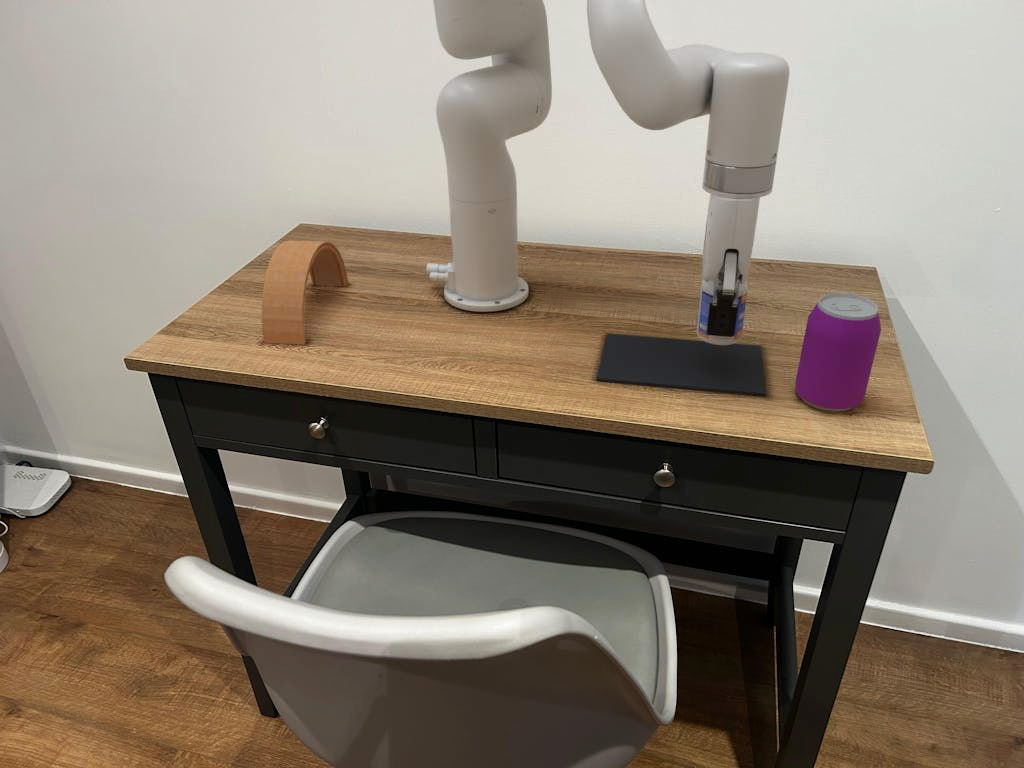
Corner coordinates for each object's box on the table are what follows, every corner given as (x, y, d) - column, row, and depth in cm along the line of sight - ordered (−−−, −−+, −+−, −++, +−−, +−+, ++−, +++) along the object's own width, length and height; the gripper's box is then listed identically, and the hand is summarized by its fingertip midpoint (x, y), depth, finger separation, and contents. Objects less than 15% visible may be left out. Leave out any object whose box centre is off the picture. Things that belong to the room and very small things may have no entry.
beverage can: (855, 383, 97) (877, 291, 91) (868, 417, 90) (893, 322, 84) (789, 378, 98) (806, 288, 92) (798, 412, 91) (817, 318, 85)
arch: (349, 283, 124) (341, 221, 119) (304, 344, 107) (292, 275, 102) (313, 282, 125) (303, 220, 120) (262, 342, 108) (249, 273, 103)
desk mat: (596, 380, 98) (596, 378, 98) (606, 335, 108) (606, 333, 108) (766, 396, 95) (766, 393, 94) (760, 348, 105) (760, 345, 104)
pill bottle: (745, 346, 96) (757, 270, 91) (700, 346, 96) (709, 271, 91) (735, 325, 101) (745, 252, 96) (692, 326, 101) (700, 253, 96)
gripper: (703, 153, 96) (689, 292, 105) (703, 198, 82) (686, 354, 91) (768, 155, 95) (748, 296, 104) (780, 201, 80) (755, 359, 90)
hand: (719, 321), depth 97 cm, fingers closed on pill bottle, 5 cm apart
